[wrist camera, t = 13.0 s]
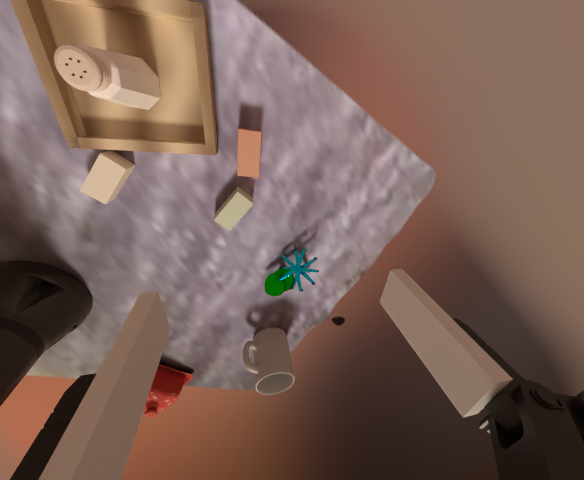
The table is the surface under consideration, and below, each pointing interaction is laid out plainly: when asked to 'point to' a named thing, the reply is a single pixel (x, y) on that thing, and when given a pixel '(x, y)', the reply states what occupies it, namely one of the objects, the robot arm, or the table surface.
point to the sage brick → (233, 208)
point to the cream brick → (107, 176)
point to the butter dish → (165, 389)
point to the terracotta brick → (248, 152)
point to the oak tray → (139, 43)
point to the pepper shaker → (108, 75)
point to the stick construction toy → (288, 276)
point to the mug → (270, 361)
